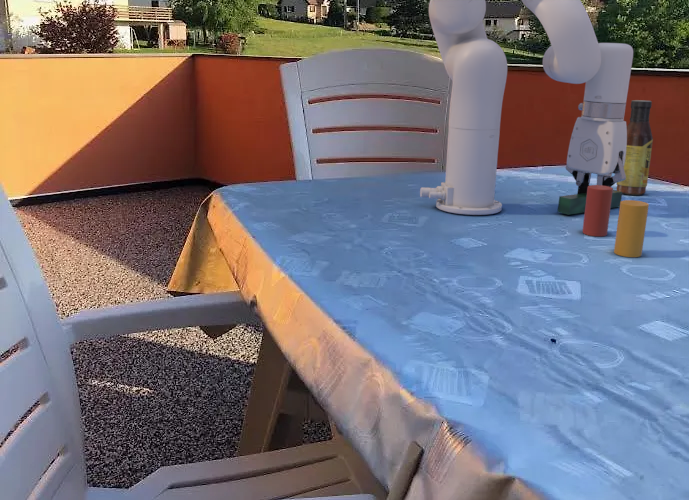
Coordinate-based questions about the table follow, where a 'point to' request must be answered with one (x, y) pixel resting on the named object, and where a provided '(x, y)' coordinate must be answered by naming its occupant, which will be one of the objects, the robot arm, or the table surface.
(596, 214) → the red rod
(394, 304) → the table surface
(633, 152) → the sauce bottle
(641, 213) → the yellow rod
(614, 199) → the green bar
